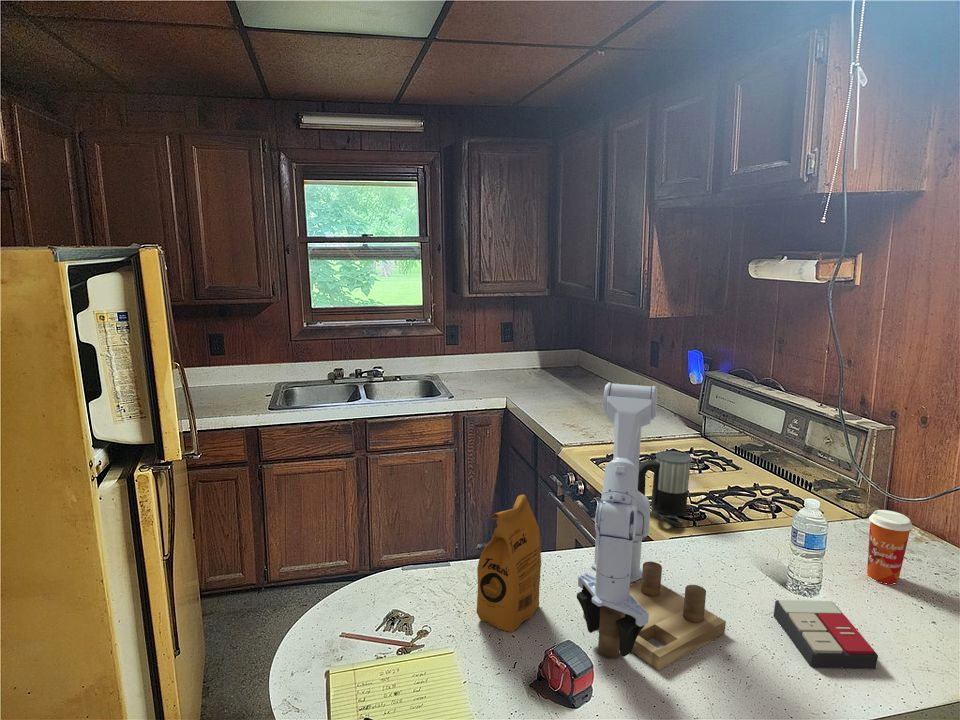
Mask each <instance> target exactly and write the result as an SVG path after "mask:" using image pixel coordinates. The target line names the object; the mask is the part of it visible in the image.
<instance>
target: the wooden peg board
mask: <svg viewBox="0 0 960 720" xmlns="http://www.w3.org/2000/svg"><path fill="white" fill-rule="evenodd" d="M642 569H643V570H642V578H641V579H639V580H637V581H635V582H632V583H630V590H629V593H630V594H631V595H632V596H633V597H634V599H635V600H636V601H637V602H638V603H639V604H640V605H641V607H642V608H643V609H645V610H646V611H647V612H649V619H648V623H647V624H645V626H644V627H643V628H642V630H641V631H640V633H639V634H638V636H637V638H636V641H635V643H634V646H633V649H632V652H631V653H634V654H635V655H636V656H637V657H639V658H640V659H642V660H644V661H645V662H646V663H648V664H649V665H650V666H652V667H653V668H654V669H656V670H657V671H661V670H663V669H665V668H666V667H667V666H670V665H671V664H673V663H674V662H676V661H678V660H680V659H682V658H684V657H685V656H687V655H688V654H690V653H692V652H694V651H696V650H698V649H699V648H701V647H703V646H705V645H707V644H708V643H710V642H712V641H714V640H715V639H717V638H720V637H721V636H722V635H724V634H725V632H726V623H727V621H726V620H724V619H723V618H722V617H719V616H718V615H717V614H714V613H712V612H710V611H709V610H708V609H706V608H705V607H706V600H707V598H706V597H707V591H706V589H705V588H704V587H703V586H701V585H697V584H687V585H686V586H685V588H684V596H683V595H681V594H679V593H677V592H676V591H674V590H672V589H671V588H669V587H667V586H665V585H663V584H662V571H663V567H662V565H661V564H660V563H658V562H655V561H645V562H643V564H642ZM582 614H583V615H582V617H583V618H584V619H585V615H584V612H583V613H582ZM623 617H625V614H624V613H623V612H622V616H621V618H623ZM653 638H656V639H657V640H659V641H660V642H662V643H663V644H664V645H663V646H661V647H659V648H658V647H656V646H655V645H654V644H652V643H650V642H649V641H648V640H650V639H653Z"/></svg>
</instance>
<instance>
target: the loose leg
mask: <svg viewBox="0 0 960 720" xmlns="http://www.w3.org/2000/svg"><path fill="white" fill-rule="evenodd" d="M621 616H622V612H620V611H617V610H615V609H612V608H609V607H606V606H602V607H601V608H600V624H599V629H598V643H597V644H598V645H597V646H598V647H597V648H598V649H597V653H598V654H599V656H601V657H602V658H604V659H608V660H614V659H617V658H618V657H619V655H620V651H619V642H620V639H619V632H618V628H617V625H616V620H619V619H621Z"/></svg>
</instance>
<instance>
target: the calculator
mask: <svg viewBox="0 0 960 720" xmlns="http://www.w3.org/2000/svg"><path fill="white" fill-rule="evenodd" d="M772 616H773V618H774V619H775V621H776V620H777V621H778V622H777V621H776V622H777V623H778V625H779V624H780V625H781V626H780V625H779V626H780V628H781V629H782V630H784V631H785V633H786V634H787V637H789V639H790V640H791V643H792V644H793V645H794V646H795V648H796V649H797V650H798V652H799V653H800V655H801V656H802V657H803V658H804V660H805V661H806V663H807V664H808V665H809V667H810V668H812V669H848V670H849V669H850V670H851V669H853V670H876V669H877V664H878V660H879V659H878V658H879V654H878V653H877V652H876V651H875V649H874V648H873V647H872V646H871V645H870V644H869V642H867V640H866V639H865V637H864V636H863V635H862V634H861V632H859V631H858V629H857V628H856V627H855V625H853V623H852V622H851V621H850V620H849V619H848V617H847V616H846V615H845V614H844V613H843V612H842V611H841V610H840V608H839V607H838V606H837V605H836V603H834V601H832V600H806V599H805V600H802V599H800V600H799V599H796V600H795V599H794V600H793V599H778V600H777V599H776V600H775V602H774V608H773V615H772Z"/></svg>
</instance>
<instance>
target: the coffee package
mask: <svg viewBox="0 0 960 720" xmlns="http://www.w3.org/2000/svg"><path fill="white" fill-rule="evenodd" d="M491 519H492V520H496V524H497V526H496V528H494V531H493V532H492V533H493V534H492V536H491V539H490V541H488V542H487V543H486V545H485V547H484V548H483V550H482V551H481V554H480V556H479V559H478V563H477V567H476V568H477V569H476V570H477V573H476V574H477V597H476V611H475V612H476V615H477V616H478V617H477V618H478V619H479V620H480V621H481V622H483V621H484V622H485V623H487V624H489V625H491V626H493V625H494V626H495V627H497V629H499V630H500V631H505V632H509V631H510V633H513V632H516V630H517V629H518V628H519V626H521V624H522V623H523V622H524V621H528V620H530V619H531V618H532V617H533V615H534V614H535V612H536V611H537V608H538V607H539V606H540V583H541V569H542V553H541V552H542V547H541V544H542V543H541V536H540V535H541V534H540V527H539V525H538V523H537V522H538V521H537V519H536V517H535V516H534V513H533V510H532V508H531V506H530V503H529V501H528V499H527V496H526V495H525V494H519V495H518V496H517V497H516V500H515V502H514V504H513V508H510V509H507V510H502V511H499V512H495V513H493V514H492V515H491Z"/></svg>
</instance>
